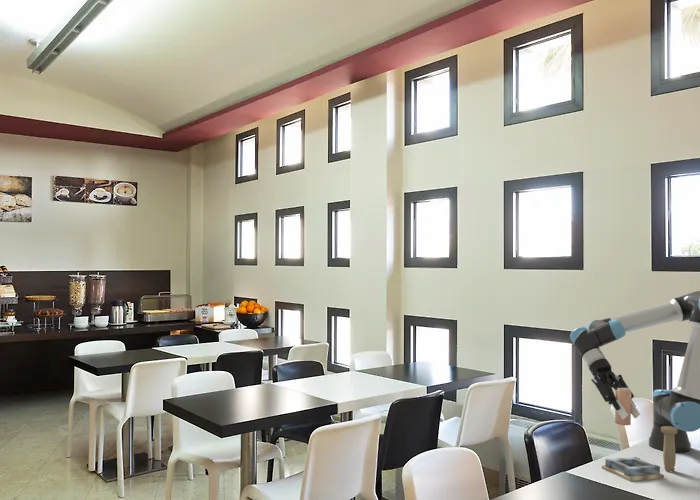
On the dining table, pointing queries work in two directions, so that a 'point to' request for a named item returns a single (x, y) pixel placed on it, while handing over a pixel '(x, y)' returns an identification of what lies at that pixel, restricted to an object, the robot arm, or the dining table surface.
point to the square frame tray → (632, 469)
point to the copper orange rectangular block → (625, 400)
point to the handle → (669, 447)
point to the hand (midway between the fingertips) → (631, 416)
